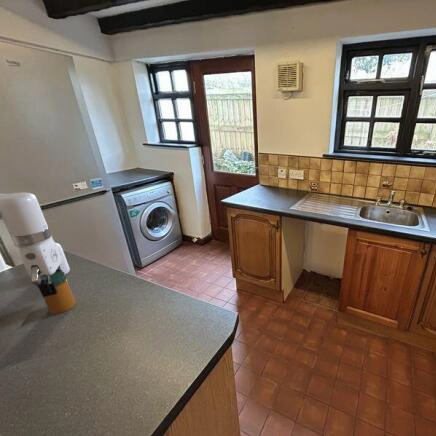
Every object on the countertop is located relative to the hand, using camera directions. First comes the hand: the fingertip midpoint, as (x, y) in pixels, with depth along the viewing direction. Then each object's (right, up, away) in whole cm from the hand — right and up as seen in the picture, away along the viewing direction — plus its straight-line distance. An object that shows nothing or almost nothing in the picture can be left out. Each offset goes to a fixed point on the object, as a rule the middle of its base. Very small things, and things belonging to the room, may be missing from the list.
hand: (54, 287), depth 75 cm
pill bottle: (-17, 0, +19) cm, 26 cm away
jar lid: (0, +3, -1) cm, 3 cm away
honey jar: (0, -7, +3) cm, 8 cm away
